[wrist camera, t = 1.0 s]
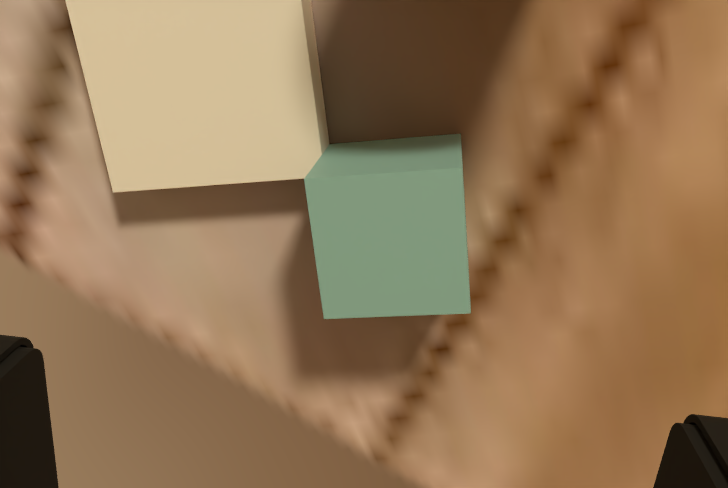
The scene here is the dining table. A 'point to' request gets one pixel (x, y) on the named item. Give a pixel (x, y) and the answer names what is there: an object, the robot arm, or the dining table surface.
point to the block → (390, 227)
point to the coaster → (202, 89)
